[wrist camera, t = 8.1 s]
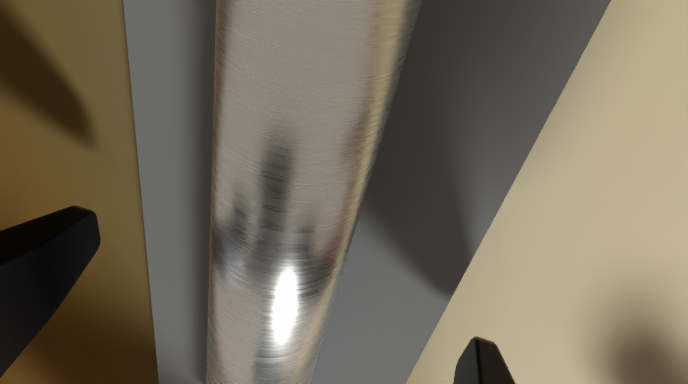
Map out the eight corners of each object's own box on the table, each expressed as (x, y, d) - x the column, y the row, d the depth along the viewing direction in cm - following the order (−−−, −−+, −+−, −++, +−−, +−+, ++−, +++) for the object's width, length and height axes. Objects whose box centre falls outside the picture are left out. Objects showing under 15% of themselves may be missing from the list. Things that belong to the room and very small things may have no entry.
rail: (297, 429, 14) (270, 515, 12) (226, 404, 14) (188, 486, 12) (474, -168, 5) (473, -192, 3) (277, -217, 5) (169, -267, 3)
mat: (366, 443, 15) (363, 461, 14) (169, 373, 15) (159, 389, 15) (682, -167, 5) (703, -172, 5) (125, -301, 6) (93, -316, 5)
